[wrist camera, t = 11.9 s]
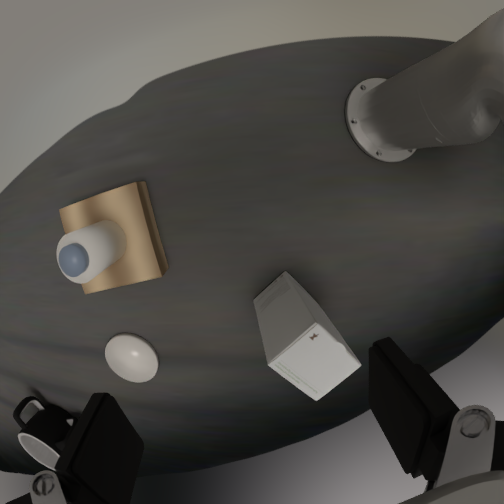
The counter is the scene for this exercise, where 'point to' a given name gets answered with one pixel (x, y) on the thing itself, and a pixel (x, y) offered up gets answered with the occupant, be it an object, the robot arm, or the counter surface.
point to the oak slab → (134, 226)
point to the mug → (44, 431)
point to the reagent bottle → (90, 250)
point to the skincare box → (302, 338)
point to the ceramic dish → (132, 357)
